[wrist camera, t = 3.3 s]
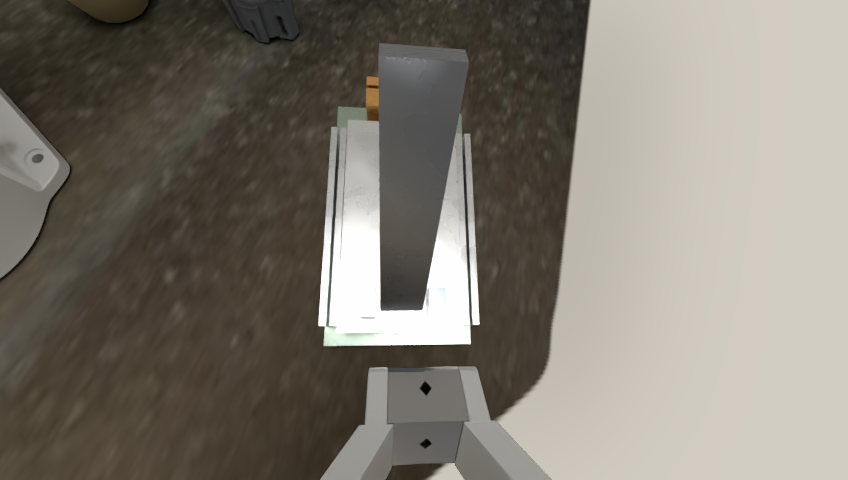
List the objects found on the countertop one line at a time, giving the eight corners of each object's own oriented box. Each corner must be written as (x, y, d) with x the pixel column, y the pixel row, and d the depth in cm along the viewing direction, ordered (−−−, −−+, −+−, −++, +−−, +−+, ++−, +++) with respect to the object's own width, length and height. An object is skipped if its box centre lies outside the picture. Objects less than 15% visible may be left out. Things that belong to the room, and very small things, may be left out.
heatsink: (466, 343, 31) (491, 347, 23) (326, 345, 29) (307, 349, 22) (458, 122, 36) (476, 70, 29) (340, 115, 35) (328, 59, 28)
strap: (421, 300, 26) (422, 312, 25) (380, 300, 25) (380, 313, 25) (465, 49, 12) (469, 62, 12) (379, 43, 12) (378, 55, 11)
